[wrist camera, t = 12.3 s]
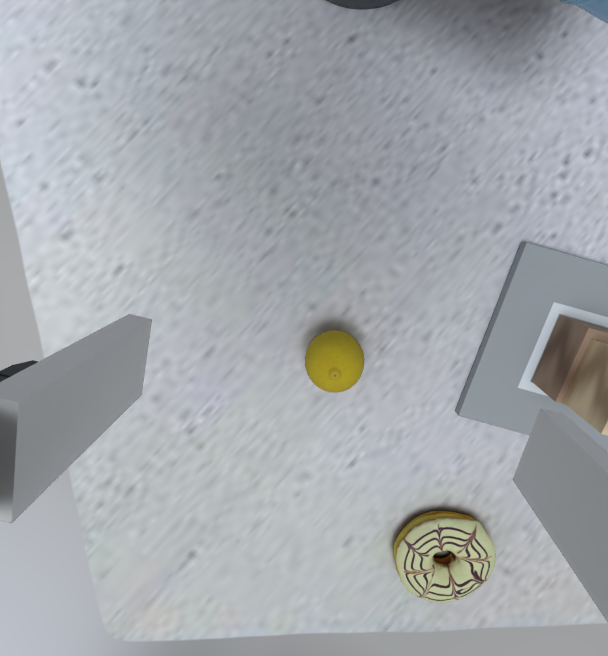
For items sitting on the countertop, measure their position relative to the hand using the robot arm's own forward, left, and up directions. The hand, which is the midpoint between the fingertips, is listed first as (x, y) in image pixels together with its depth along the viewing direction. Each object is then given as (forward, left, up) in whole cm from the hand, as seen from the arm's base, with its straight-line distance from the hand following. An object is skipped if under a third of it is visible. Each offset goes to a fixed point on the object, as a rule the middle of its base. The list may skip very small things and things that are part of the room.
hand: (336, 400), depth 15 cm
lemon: (+7, +2, -31) cm, 32 cm away
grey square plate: (+1, +25, -31) cm, 40 cm away
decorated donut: (+26, +20, -31) cm, 45 cm away
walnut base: (+1, +25, -30) cm, 39 cm away
